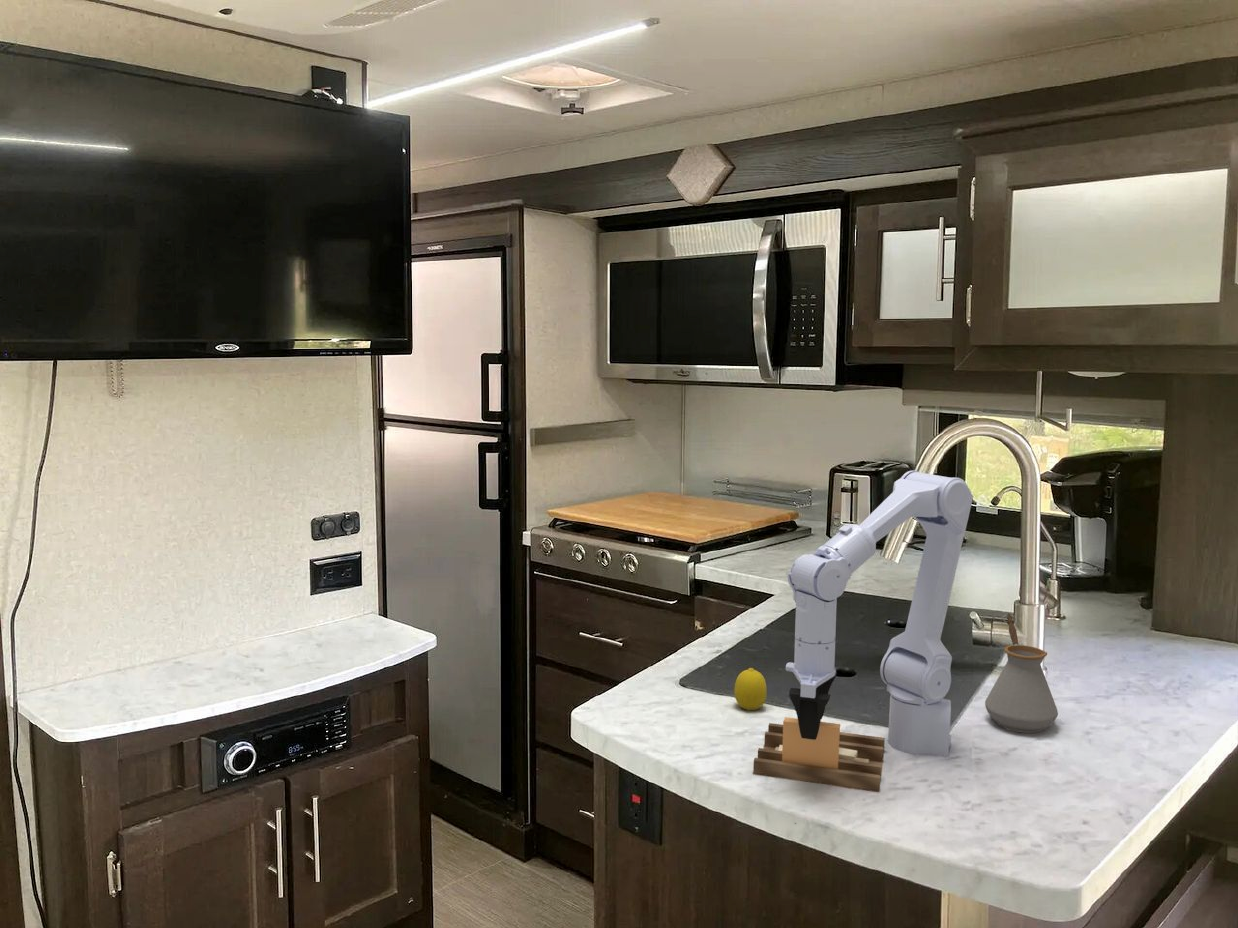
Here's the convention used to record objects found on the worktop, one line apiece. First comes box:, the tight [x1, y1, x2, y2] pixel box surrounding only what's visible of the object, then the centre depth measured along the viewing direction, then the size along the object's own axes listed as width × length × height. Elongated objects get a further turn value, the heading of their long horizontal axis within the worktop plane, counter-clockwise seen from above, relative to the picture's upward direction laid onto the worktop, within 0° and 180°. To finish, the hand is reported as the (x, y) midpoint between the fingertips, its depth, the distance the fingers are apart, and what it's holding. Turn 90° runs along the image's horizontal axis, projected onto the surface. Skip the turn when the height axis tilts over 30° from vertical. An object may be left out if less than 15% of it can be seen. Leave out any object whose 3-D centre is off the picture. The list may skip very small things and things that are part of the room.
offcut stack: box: [775, 745, 869, 763], centre depth 149 cm, size 14×4×2 cm, turn 72°
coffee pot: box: [984, 613, 1059, 734], centre depth 171 cm, size 21×12×15 cm, turn 168°
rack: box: [752, 722, 886, 793], centre depth 150 cm, size 18×16×3 cm
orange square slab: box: [782, 716, 841, 769], centre depth 145 cm, size 8×2×8 cm, turn 72°
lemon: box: [733, 667, 768, 711], centre depth 170 cm, size 6×6×8 cm
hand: (812, 727), depth 144 cm, fingers open, 7 cm apart
